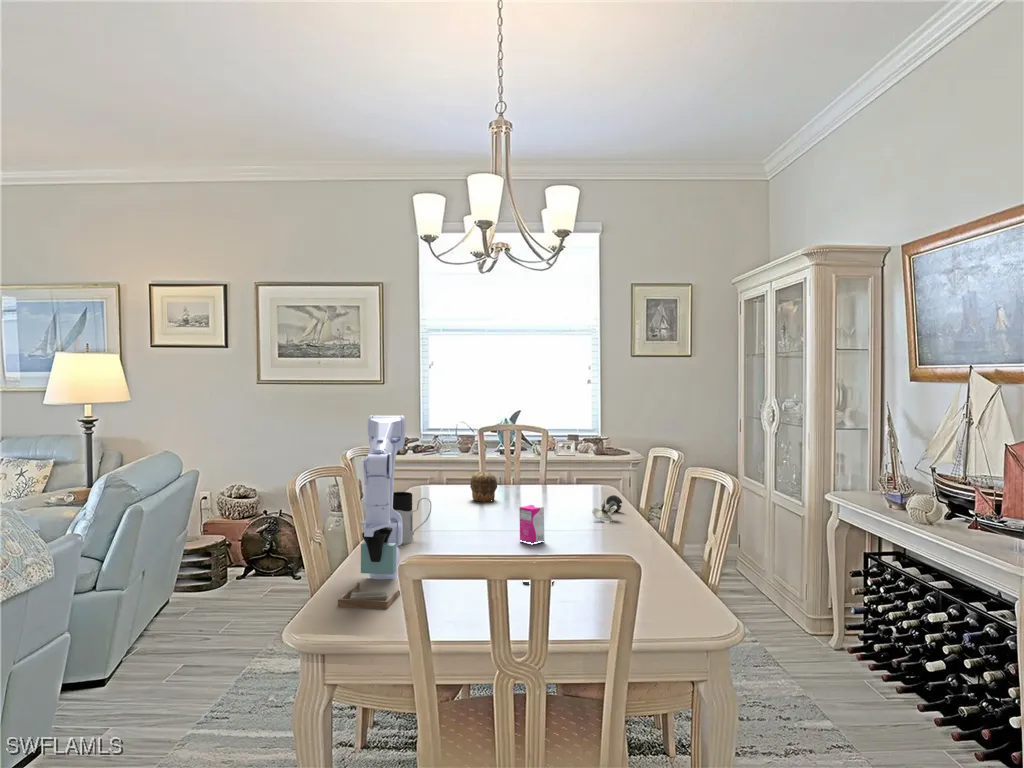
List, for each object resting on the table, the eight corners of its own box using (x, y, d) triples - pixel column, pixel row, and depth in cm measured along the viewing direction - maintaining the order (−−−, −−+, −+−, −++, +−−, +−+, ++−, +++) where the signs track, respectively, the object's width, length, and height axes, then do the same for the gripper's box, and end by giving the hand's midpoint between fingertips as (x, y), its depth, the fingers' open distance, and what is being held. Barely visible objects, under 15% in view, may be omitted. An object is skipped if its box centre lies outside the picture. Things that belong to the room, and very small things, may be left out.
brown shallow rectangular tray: (357, 594, 188) (357, 582, 188) (403, 596, 186) (403, 584, 186) (337, 612, 175) (337, 599, 174) (387, 615, 173) (387, 601, 173)
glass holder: (387, 537, 248) (387, 491, 247) (431, 537, 249) (431, 491, 248) (385, 544, 239) (385, 496, 239) (431, 543, 240) (431, 496, 240)
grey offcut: (351, 601, 178) (351, 592, 178) (386, 600, 179) (386, 591, 179) (350, 606, 175) (350, 597, 175) (385, 605, 176) (385, 596, 176)
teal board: (364, 570, 186) (364, 541, 186) (395, 571, 185) (396, 543, 185) (360, 573, 184) (360, 544, 184) (393, 574, 183) (393, 545, 183)
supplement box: (531, 539, 247) (531, 504, 247) (544, 542, 243) (545, 506, 242) (518, 542, 243) (519, 506, 243) (532, 545, 239) (532, 509, 238)
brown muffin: (467, 502, 309) (467, 473, 309) (473, 497, 320) (473, 469, 320) (494, 503, 307) (494, 474, 307) (499, 498, 318) (499, 470, 318)
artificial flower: (626, 516, 293) (632, 492, 290) (606, 534, 273) (612, 509, 270) (604, 507, 296) (610, 484, 294) (583, 525, 276) (589, 500, 274)
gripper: (371, 497, 192) (370, 551, 192) (351, 509, 178) (351, 567, 178) (398, 498, 191) (398, 552, 191) (380, 510, 177) (380, 568, 177)
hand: (377, 559), depth 185 cm, fingers closed on teal board, 2 cm apart
